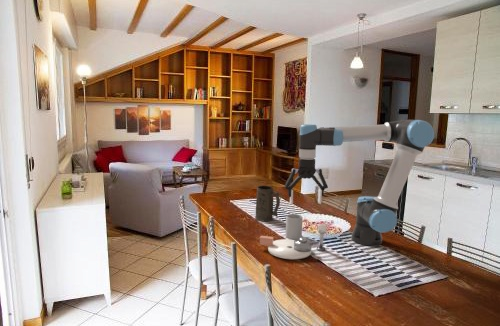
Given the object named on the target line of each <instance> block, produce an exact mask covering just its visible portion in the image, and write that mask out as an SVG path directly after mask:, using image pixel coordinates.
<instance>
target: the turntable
mask: <svg viewBox="0 0 500 326" xmlns="http://www.w3.org/2000/svg"><path fill="white" fill-rule="evenodd" d="M294 240H295V239H289V238H287V239H286V238H285V239H276V240H274V236H266V235H260V237H259V245H260V246H261V245H262V246H267V250H268V253H269V254H271V255H272V256H275V257H277V258H281V259H285V260H300V259H305V258H308V257H310V256H311V254H312V250H311V251H309V252H299V251H296V250H295V249H294Z"/></svg>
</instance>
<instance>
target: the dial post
mask: <svg viewBox="0 0 500 326" xmlns="http://www.w3.org/2000/svg"><path fill="white" fill-rule="evenodd" d="M316 228H317V232H318V233H319V245H318V246H317V247H316V250H317V252H318V251H319V252H325V251H326V247H325V246H324V235H325V234H326V232H327V231H328V227H327V225H325V224H323V223H320V224H319V225H318V226H317V227H316Z"/></svg>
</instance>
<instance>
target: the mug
mask: <svg viewBox="0 0 500 326" xmlns="http://www.w3.org/2000/svg"><path fill="white" fill-rule="evenodd" d="M303 220H304V219H303V216H302V215H301V214H296V213H289V214H287V215H286V217H285V235H284V236H285V237H286V238H287V239H290V240H295V239H299V238H300V237H303Z"/></svg>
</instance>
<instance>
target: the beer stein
mask: <svg viewBox="0 0 500 326" xmlns="http://www.w3.org/2000/svg"><path fill="white" fill-rule="evenodd" d="M279 195H280V194H279V192H278V191H276V192H274V188H273V187H272V186H270V185H259V186H257V188H256V198H255V199H256V200H255V201H256V204H255V220H257V221H259V222H270V221H273V220H274V217H273V216H275V217H278V214H279V213H278V210H279V208H280V205H281V201H280V196H279ZM274 197H275V199H276V203H275V207H274Z"/></svg>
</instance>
